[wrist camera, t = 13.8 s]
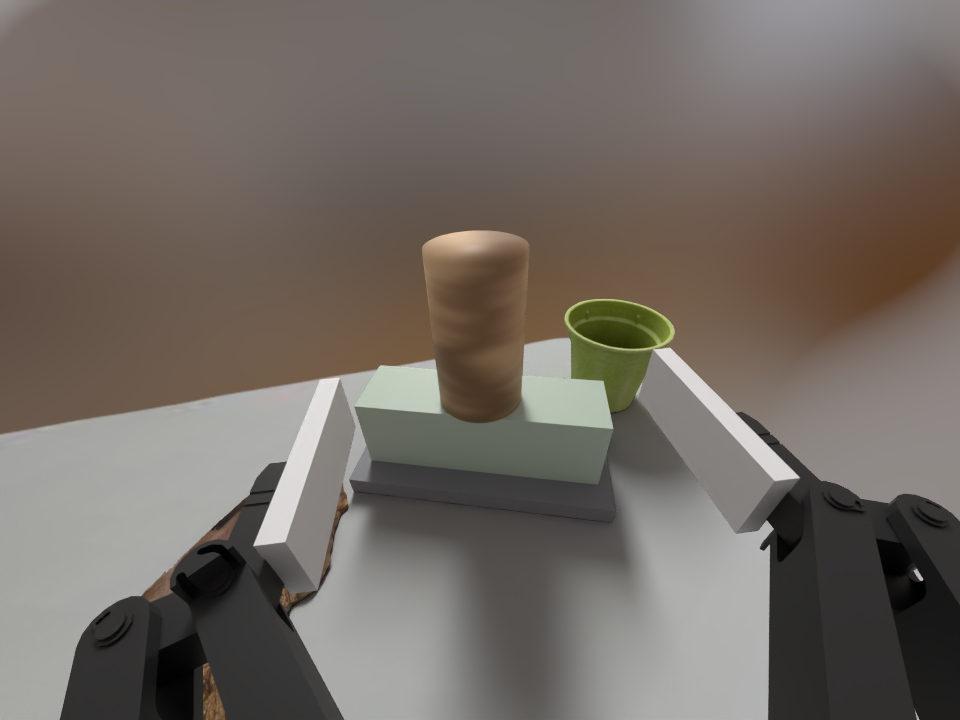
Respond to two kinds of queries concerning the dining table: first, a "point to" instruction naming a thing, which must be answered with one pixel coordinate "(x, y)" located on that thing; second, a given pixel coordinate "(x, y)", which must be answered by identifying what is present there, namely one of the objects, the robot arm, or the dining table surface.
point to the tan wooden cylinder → (478, 321)
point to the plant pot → (615, 345)
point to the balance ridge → (488, 447)
